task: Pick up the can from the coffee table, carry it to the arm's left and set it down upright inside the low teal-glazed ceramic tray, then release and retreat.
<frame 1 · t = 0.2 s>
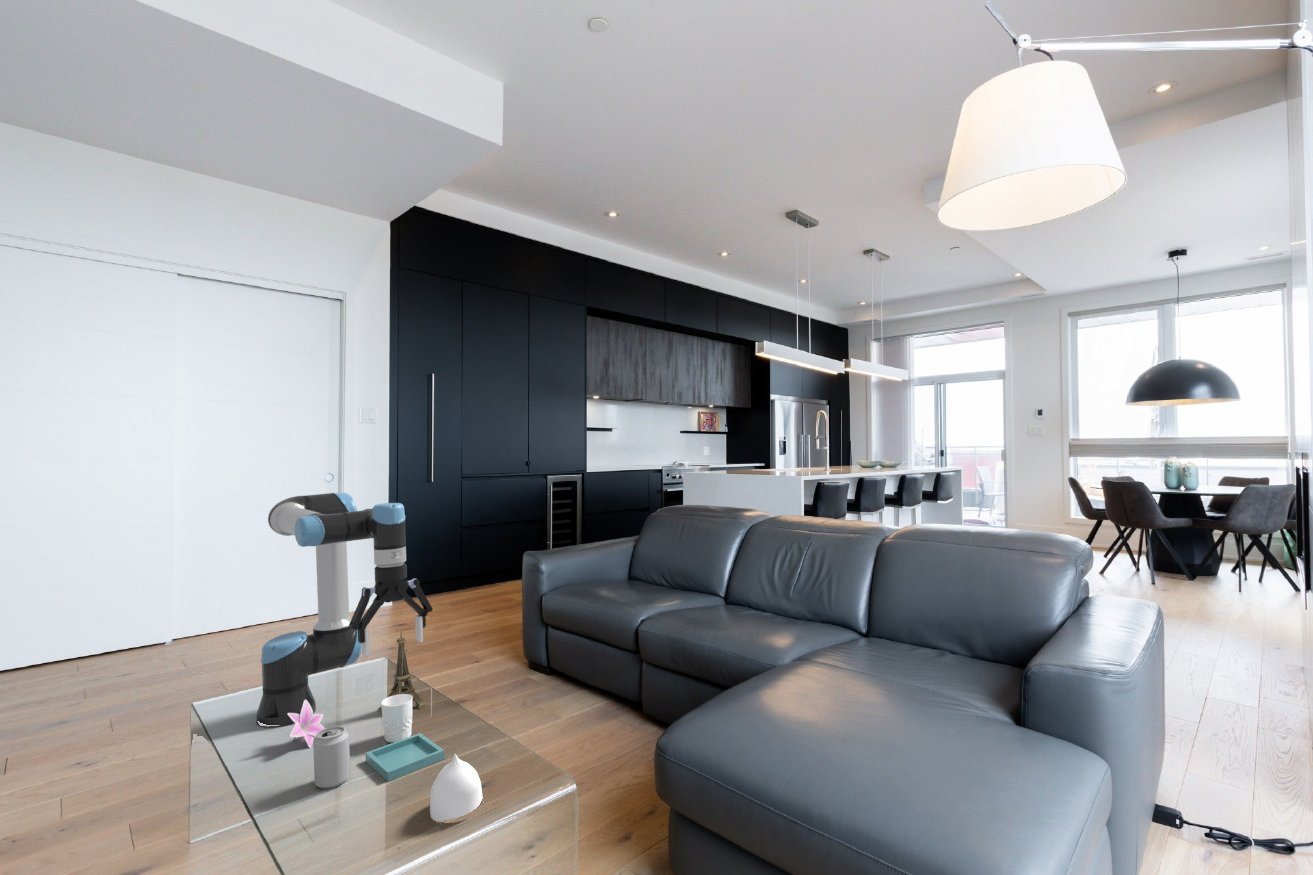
hand: (393, 648, 159), 27 cm above the table, fingers open, 13 cm apart
can: (332, 782, 148), on the table
eiffel tower: (403, 708, 189), on the table
lily: (307, 743, 168), on the table
white cup: (398, 737, 170), on the table
teardrop: (456, 809, 135), on the table
tray: (405, 760, 157), on the table
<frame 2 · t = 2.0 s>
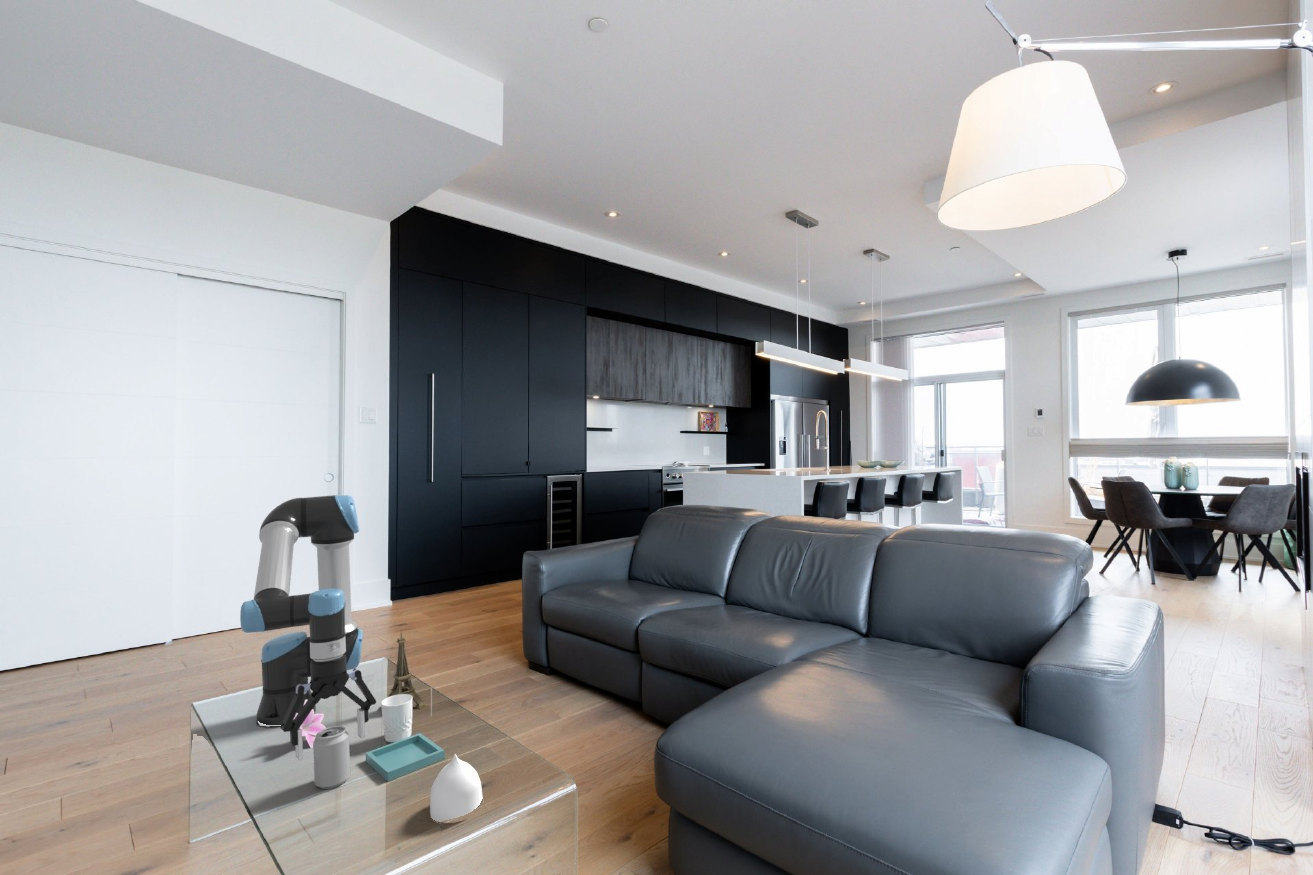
hand: (331, 747, 148), 8 cm above the table, fingers open, 13 cm apart
nothing on the table moved.
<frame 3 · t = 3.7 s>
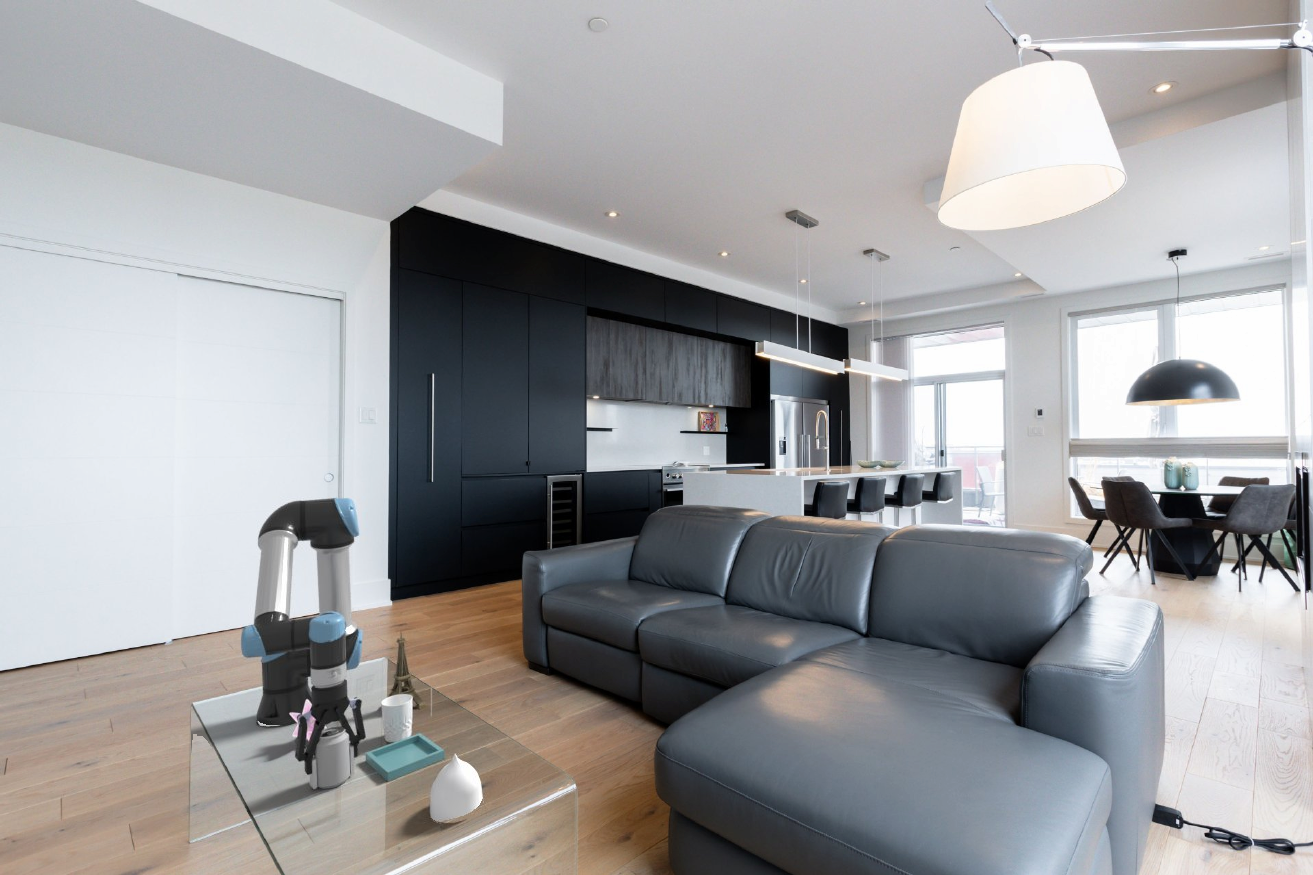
hand: (332, 779, 148), 1 cm above the table, fingers closed on can, 7 cm apart
can: (332, 782, 148), on the table, touching gripper
everything else where it was.
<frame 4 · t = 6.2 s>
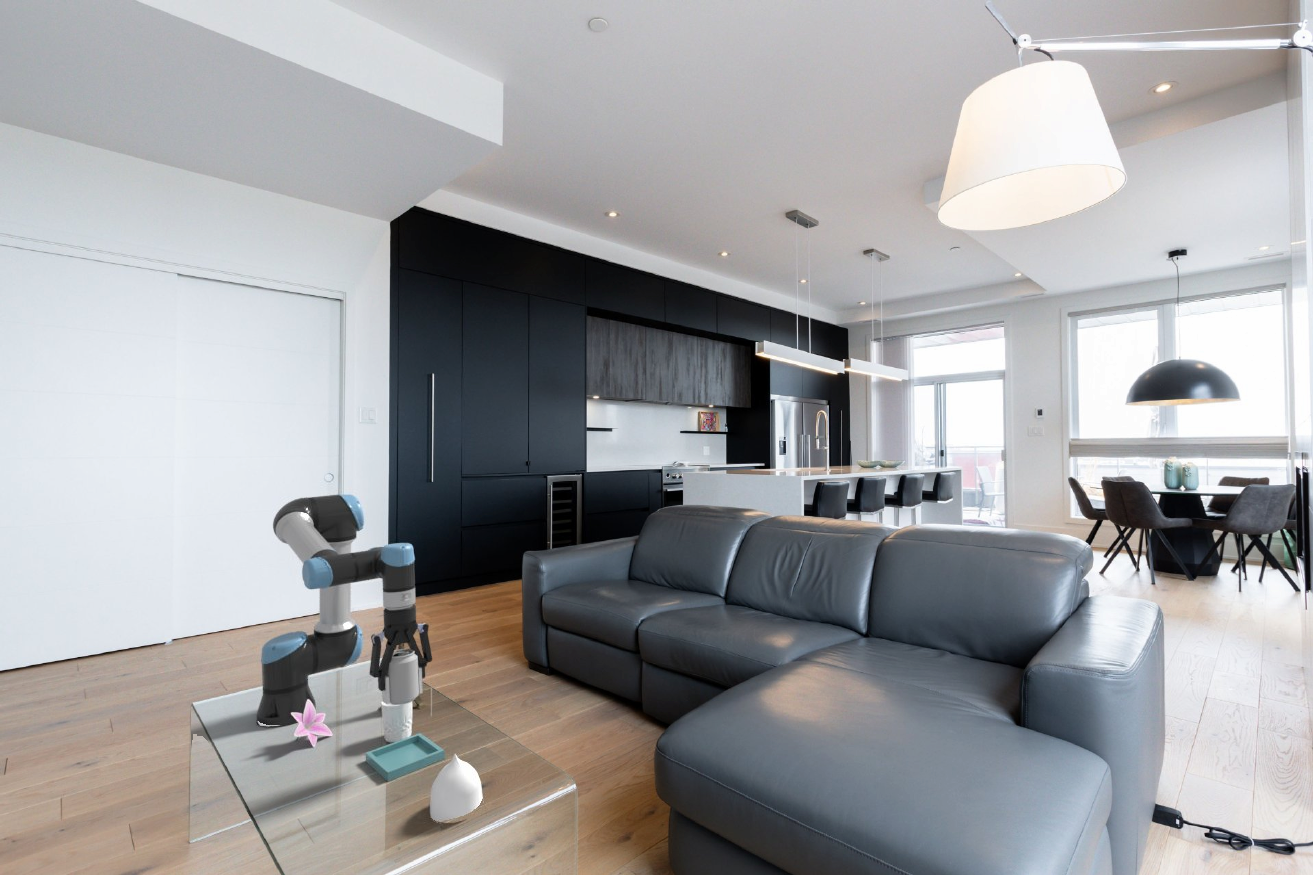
hand: (402, 697, 157), 16 cm above the table, fingers closed on can, 7 cm apart
can: (403, 700, 157), point 15 cm above the table, touching gripper
everything else where it was.
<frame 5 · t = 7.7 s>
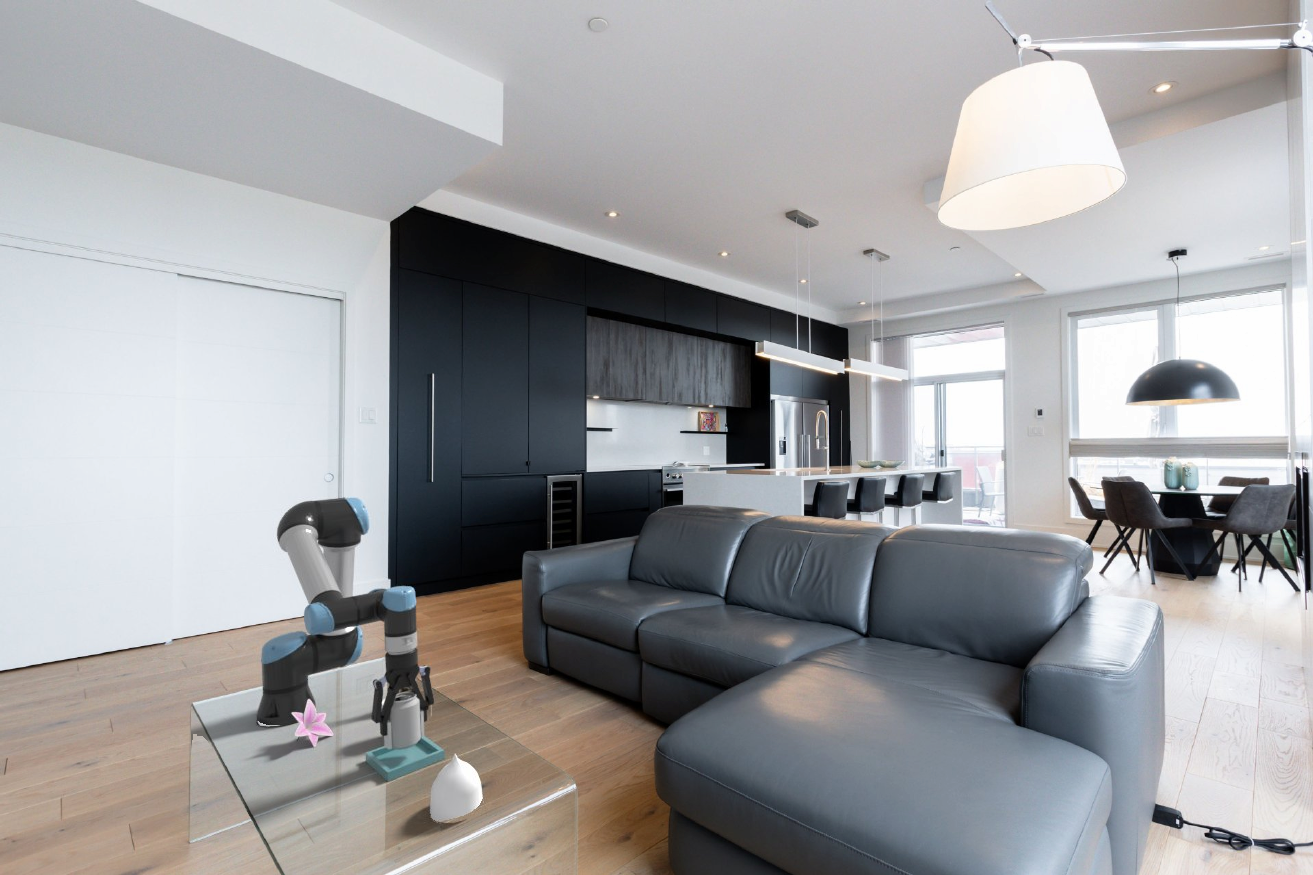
hand: (404, 741, 157), 5 cm above the table, fingers closed on can, 7 cm apart
can: (405, 744, 157), point 4 cm above the table, touching gripper
everything else where it was.
when the fingers open (3 cm above the table, at t = 8.9 s): can drops 1 cm, resting on tray.
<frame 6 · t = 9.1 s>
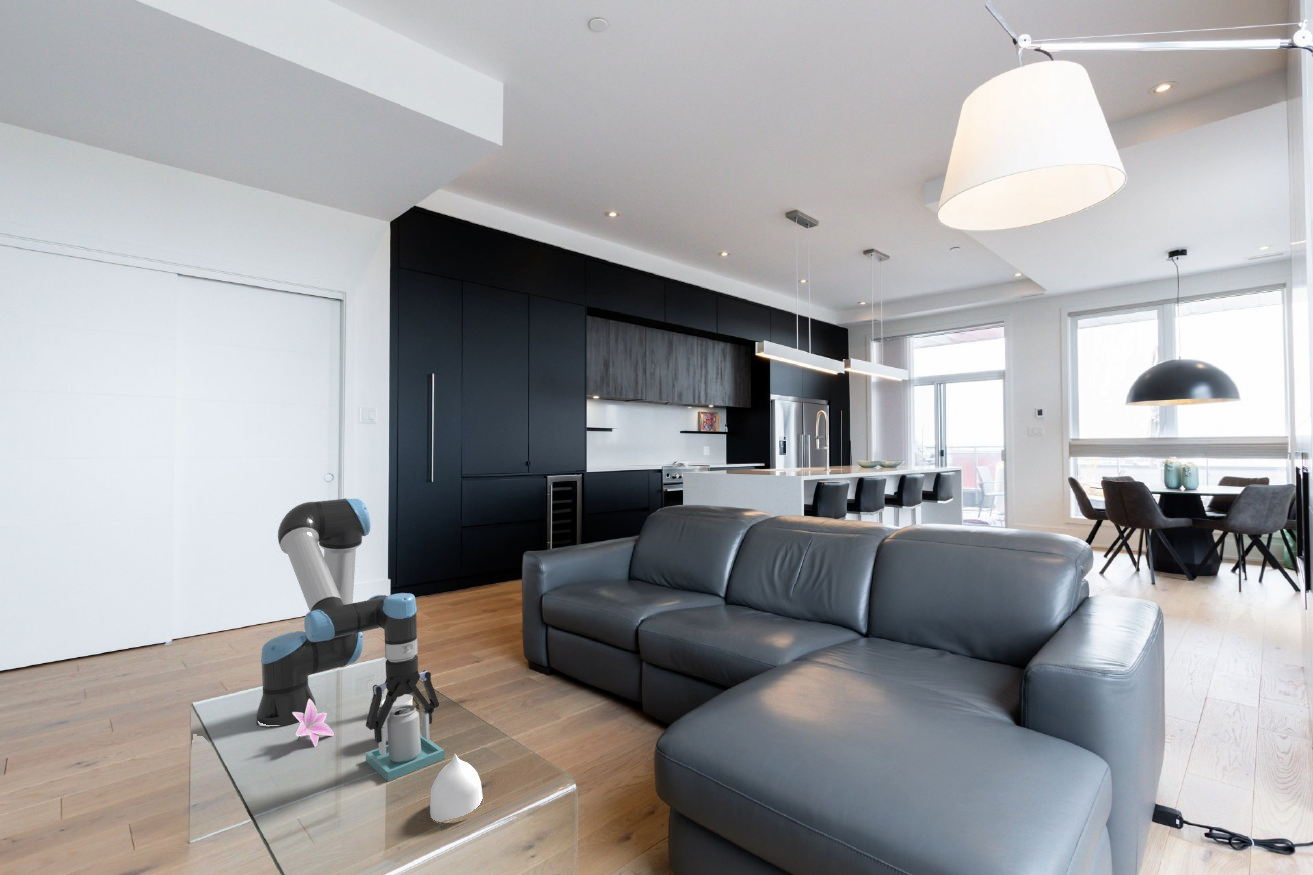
hand: (404, 745, 157), 4 cm above the table, fingers open, 10 cm apart
can: (405, 757, 157), resting on tray
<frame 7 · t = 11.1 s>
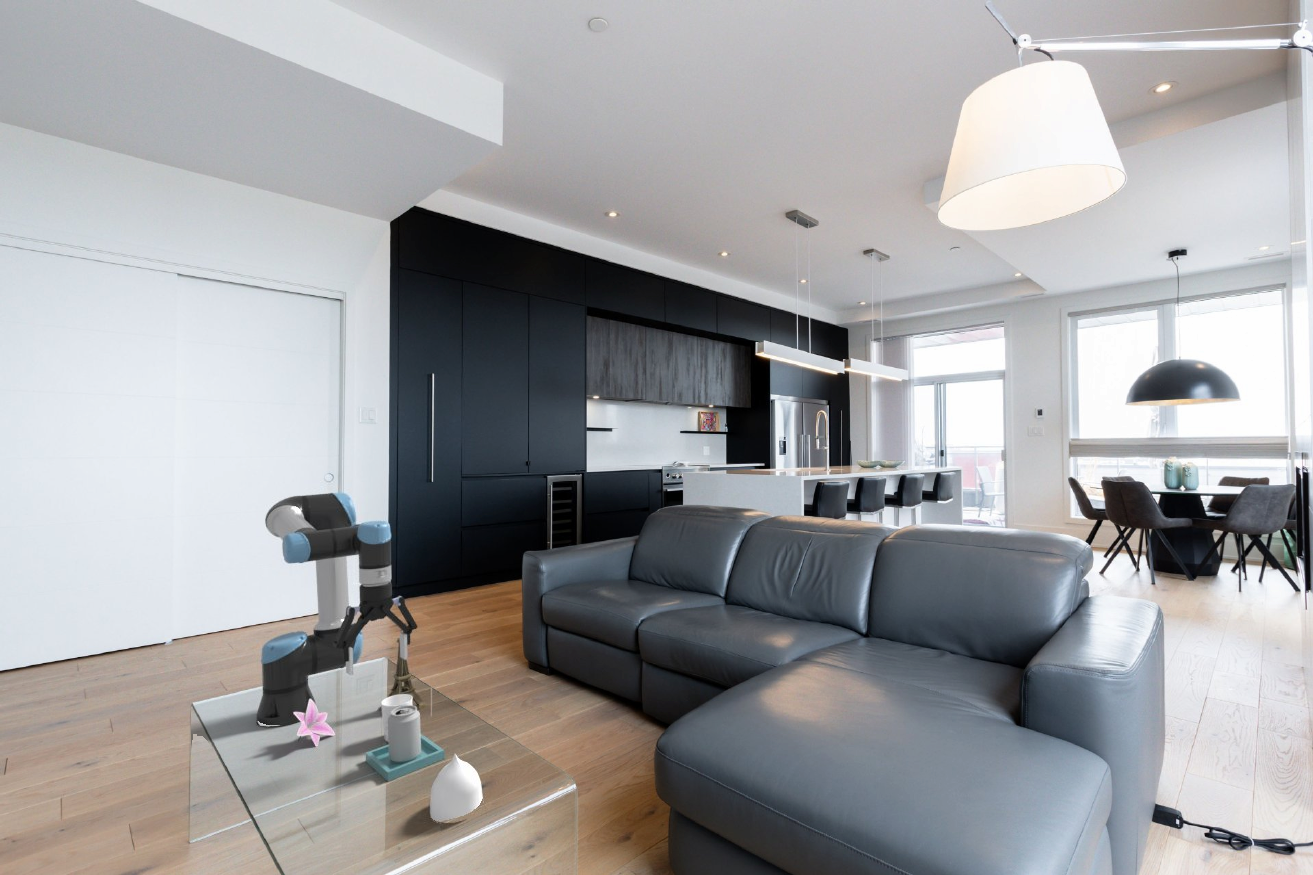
hand: (377, 665, 160), 23 cm above the table, fingers open, 13 cm apart
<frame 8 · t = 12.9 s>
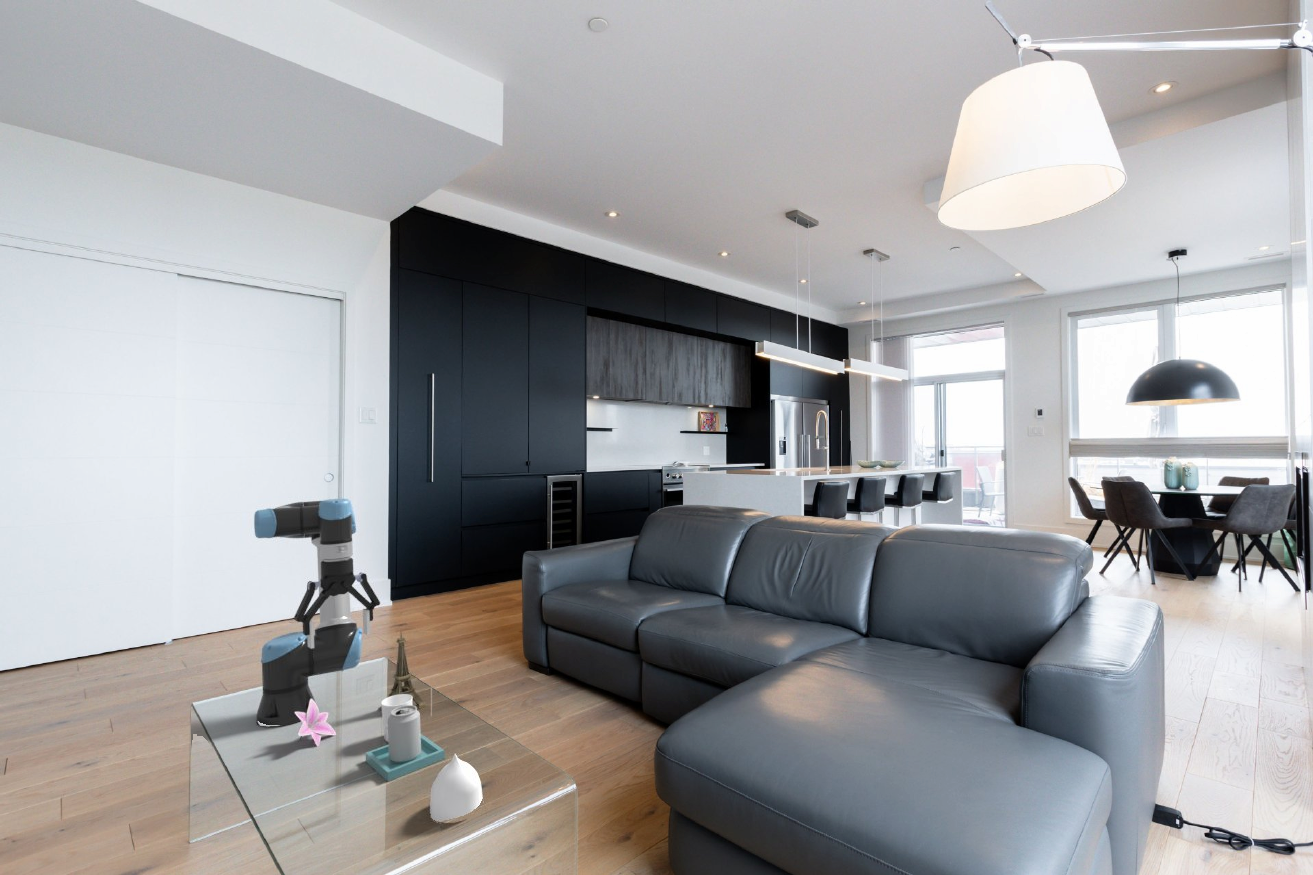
hand: (339, 640, 163), 29 cm above the table, fingers open, 13 cm apart
at the end: can inside the target area on the tray (0.1 cm from its centre), point 0.4 cm above the tray's base; can tilted 0°; the gripper is holding nothing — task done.
